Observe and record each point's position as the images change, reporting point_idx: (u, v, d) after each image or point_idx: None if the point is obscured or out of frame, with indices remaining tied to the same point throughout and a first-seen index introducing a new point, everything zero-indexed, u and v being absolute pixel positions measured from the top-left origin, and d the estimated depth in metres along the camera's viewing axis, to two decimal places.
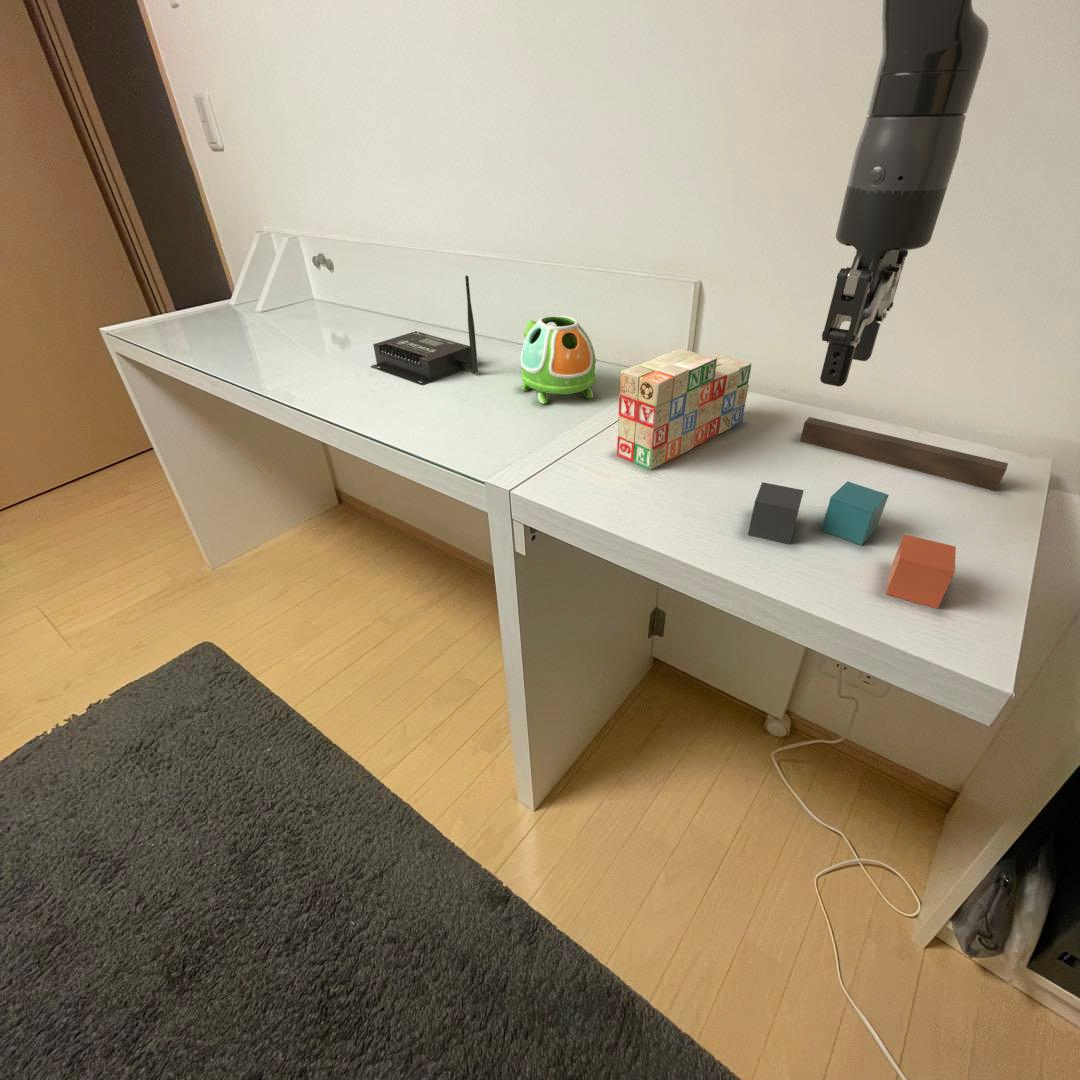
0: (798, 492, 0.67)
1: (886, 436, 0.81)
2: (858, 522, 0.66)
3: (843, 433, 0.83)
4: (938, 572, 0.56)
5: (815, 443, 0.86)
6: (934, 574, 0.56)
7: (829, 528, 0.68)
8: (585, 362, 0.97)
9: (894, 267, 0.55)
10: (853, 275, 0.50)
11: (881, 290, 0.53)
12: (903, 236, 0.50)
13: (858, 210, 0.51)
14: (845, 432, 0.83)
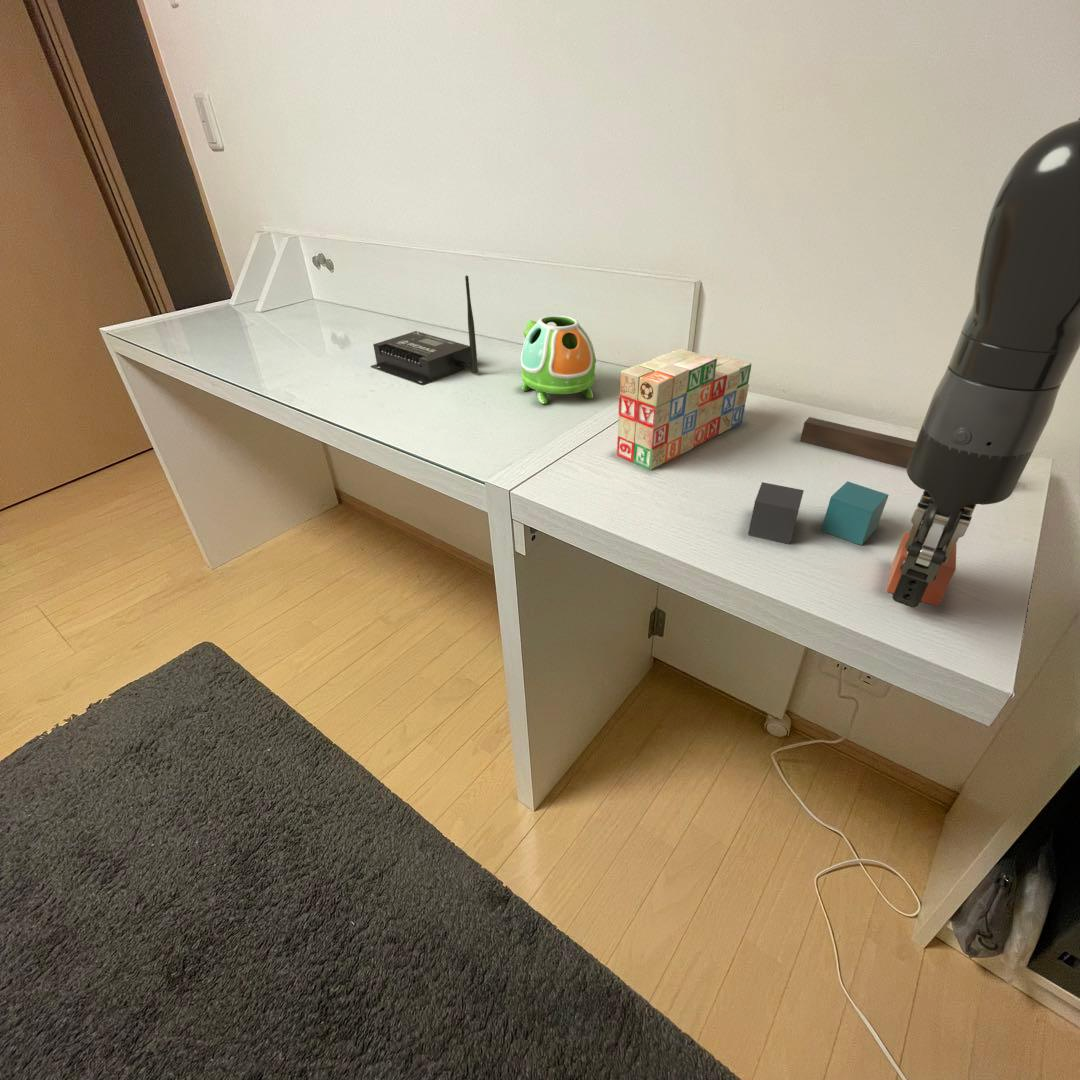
0: (798, 492, 0.67)
1: (886, 436, 0.81)
2: (858, 522, 0.66)
3: (843, 433, 0.83)
4: (939, 569, 0.56)
5: (815, 443, 0.86)
6: None
7: (829, 528, 0.68)
8: (585, 362, 0.97)
9: None
10: (924, 558, 0.48)
11: (957, 538, 0.50)
12: (987, 494, 0.46)
13: (937, 462, 0.47)
14: (845, 432, 0.83)
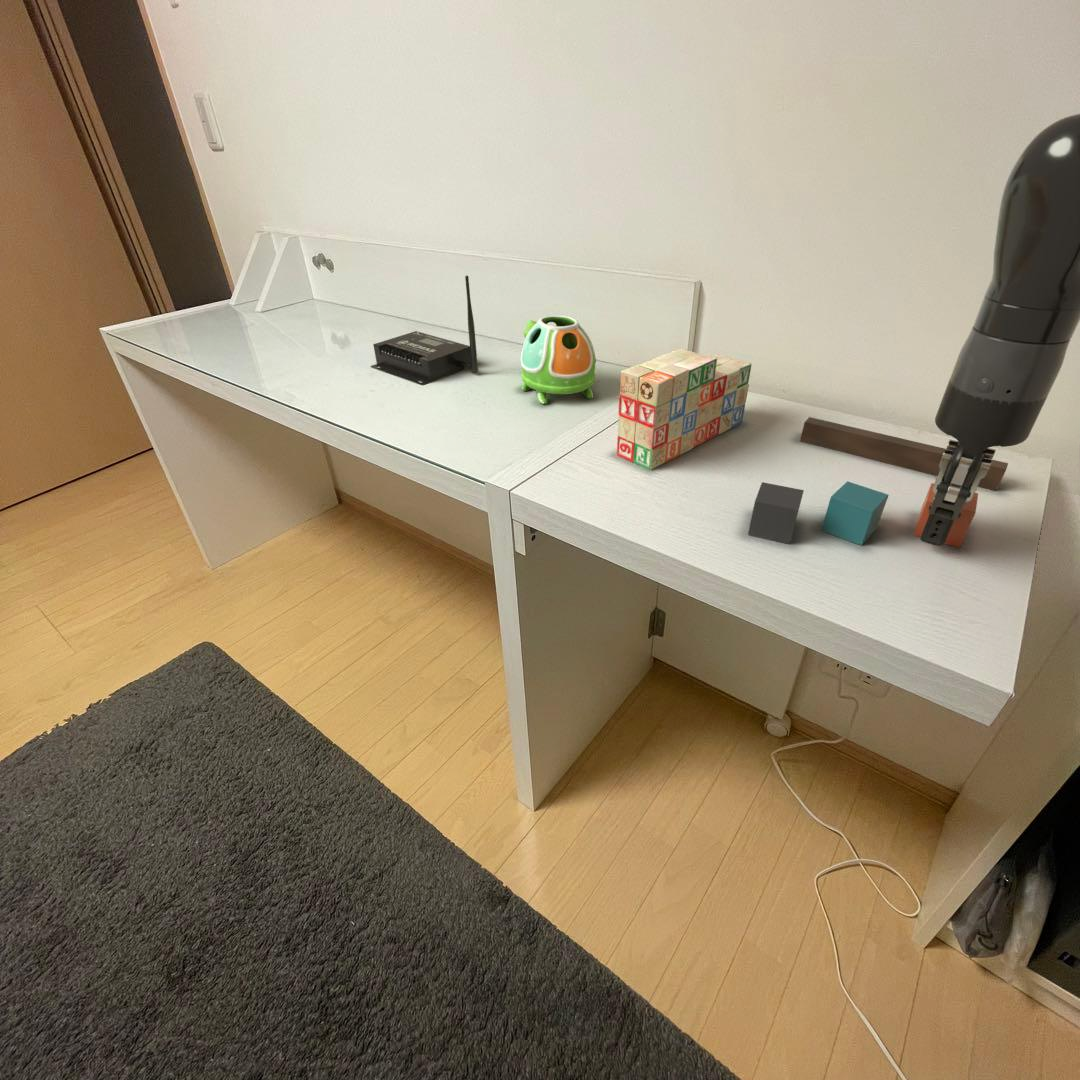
0: (798, 492, 0.67)
1: (886, 436, 0.81)
2: (858, 522, 0.66)
3: (843, 433, 0.83)
4: (961, 513, 0.64)
5: (815, 443, 0.86)
6: None
7: (829, 528, 0.68)
8: (585, 362, 0.97)
9: (989, 450, 0.58)
10: (951, 494, 0.56)
11: (979, 479, 0.58)
12: (1007, 437, 0.54)
13: (963, 410, 0.54)
14: (845, 432, 0.83)
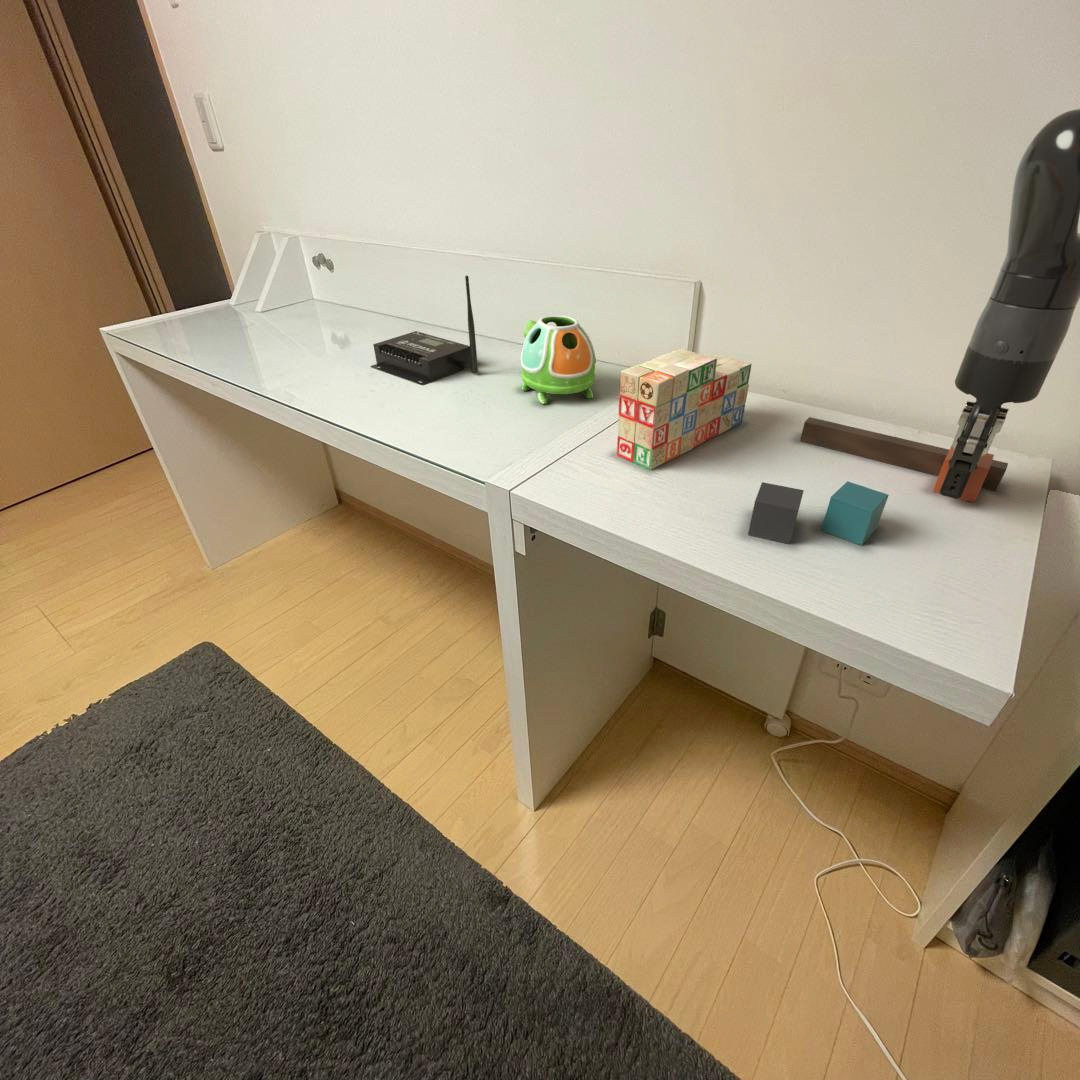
0: (798, 492, 0.67)
1: (886, 436, 0.81)
2: (858, 522, 0.66)
3: (843, 433, 0.83)
4: (976, 470, 0.71)
5: (815, 443, 0.86)
6: None
7: (829, 528, 0.68)
8: (585, 362, 0.97)
9: (1003, 409, 0.66)
10: (970, 445, 0.63)
11: (994, 434, 0.65)
12: (1019, 393, 0.61)
13: (981, 370, 0.62)
14: (845, 432, 0.83)
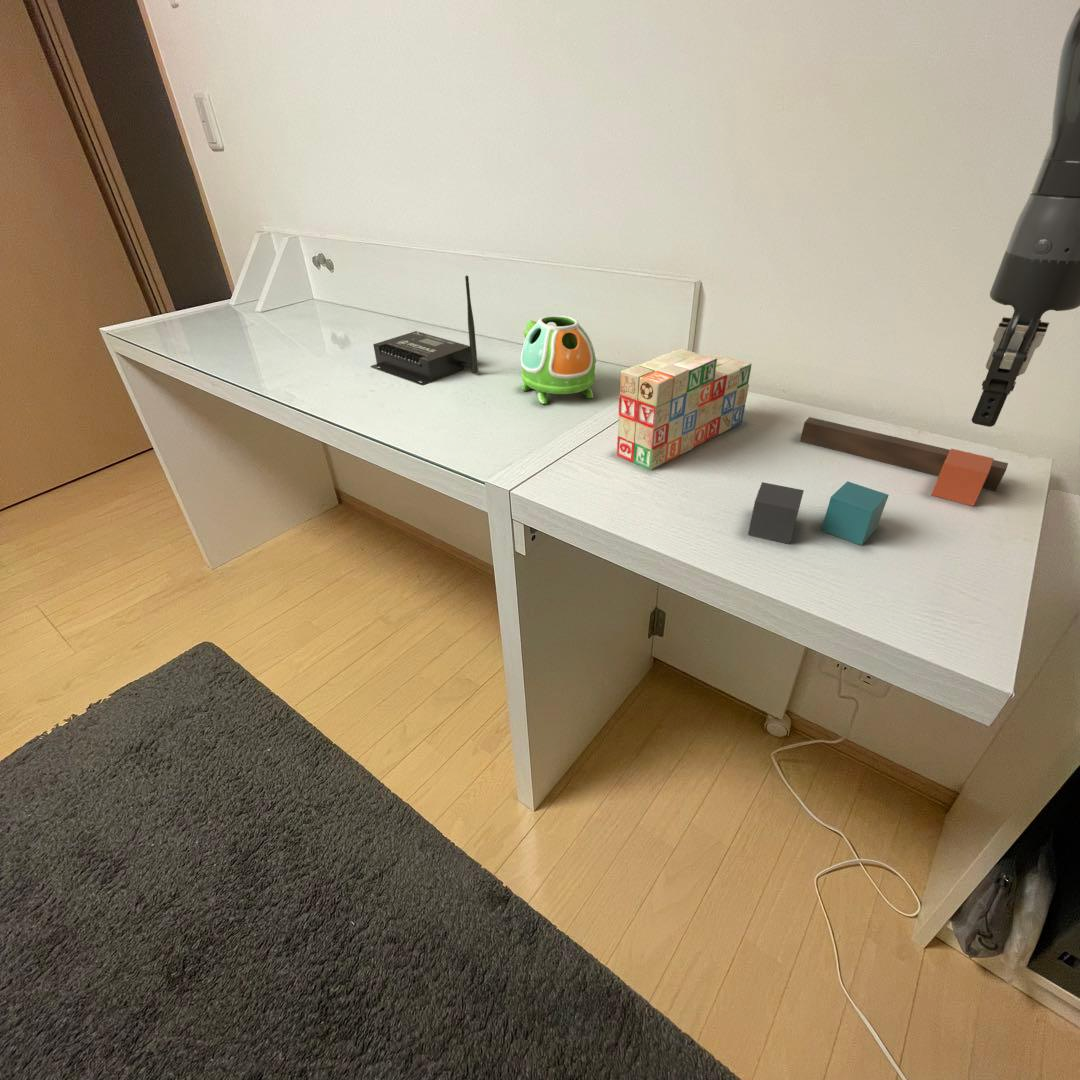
0: (798, 492, 0.67)
1: (886, 436, 0.81)
2: (858, 522, 0.66)
3: (843, 433, 0.83)
4: (975, 474, 0.70)
5: (815, 443, 0.86)
6: (971, 476, 0.71)
7: (829, 528, 0.68)
8: (585, 362, 0.97)
9: (1043, 323, 0.60)
10: (1007, 359, 0.58)
11: (1033, 350, 0.60)
12: (1063, 299, 0.56)
13: (1020, 275, 0.57)
14: (845, 432, 0.83)
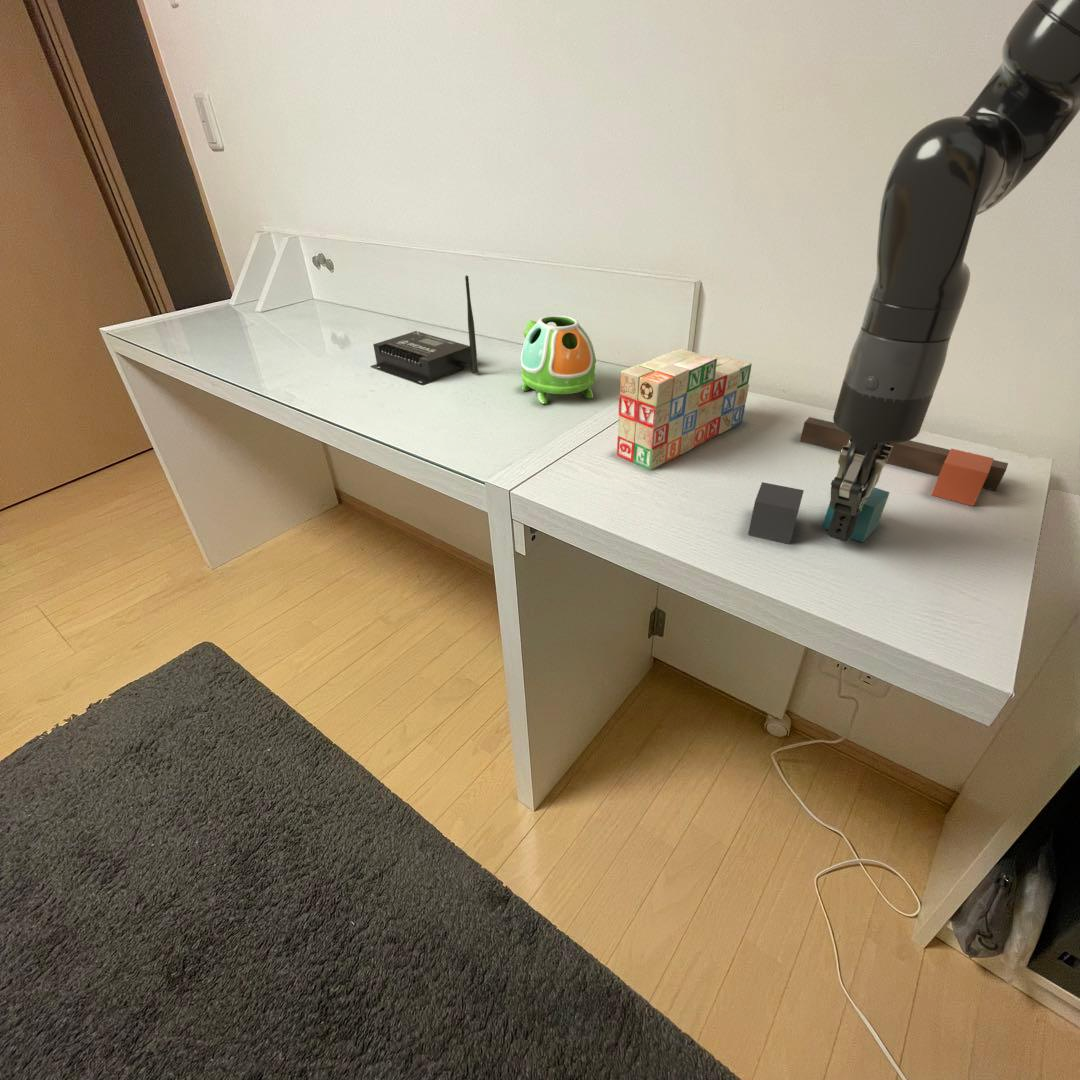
0: (798, 492, 0.67)
1: None
2: (859, 519, 0.66)
3: (843, 433, 0.83)
4: (975, 474, 0.70)
5: (815, 443, 0.86)
6: (971, 476, 0.71)
7: None
8: (585, 362, 0.97)
9: (886, 447, 0.60)
10: (844, 490, 0.57)
11: (875, 476, 0.59)
12: (894, 434, 0.55)
13: (854, 407, 0.56)
14: None
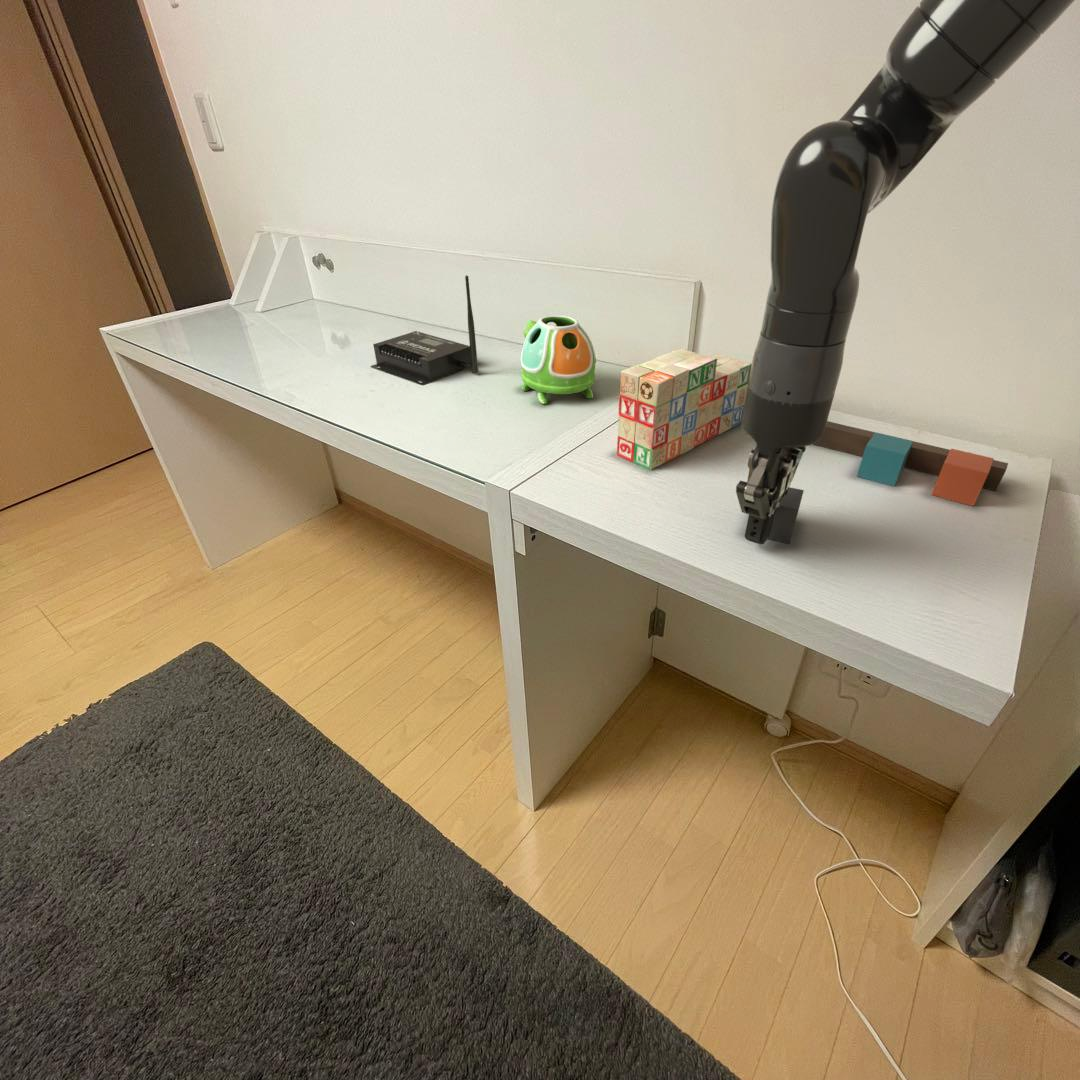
0: (798, 492, 0.67)
1: None
2: (891, 466, 0.75)
3: (843, 433, 0.83)
4: (975, 474, 0.70)
5: (815, 443, 0.86)
6: (971, 476, 0.71)
7: (864, 474, 0.78)
8: (585, 362, 0.97)
9: (795, 450, 0.59)
10: (748, 494, 0.57)
11: (782, 479, 0.59)
12: (795, 437, 0.55)
13: (755, 411, 0.55)
14: (845, 432, 0.83)
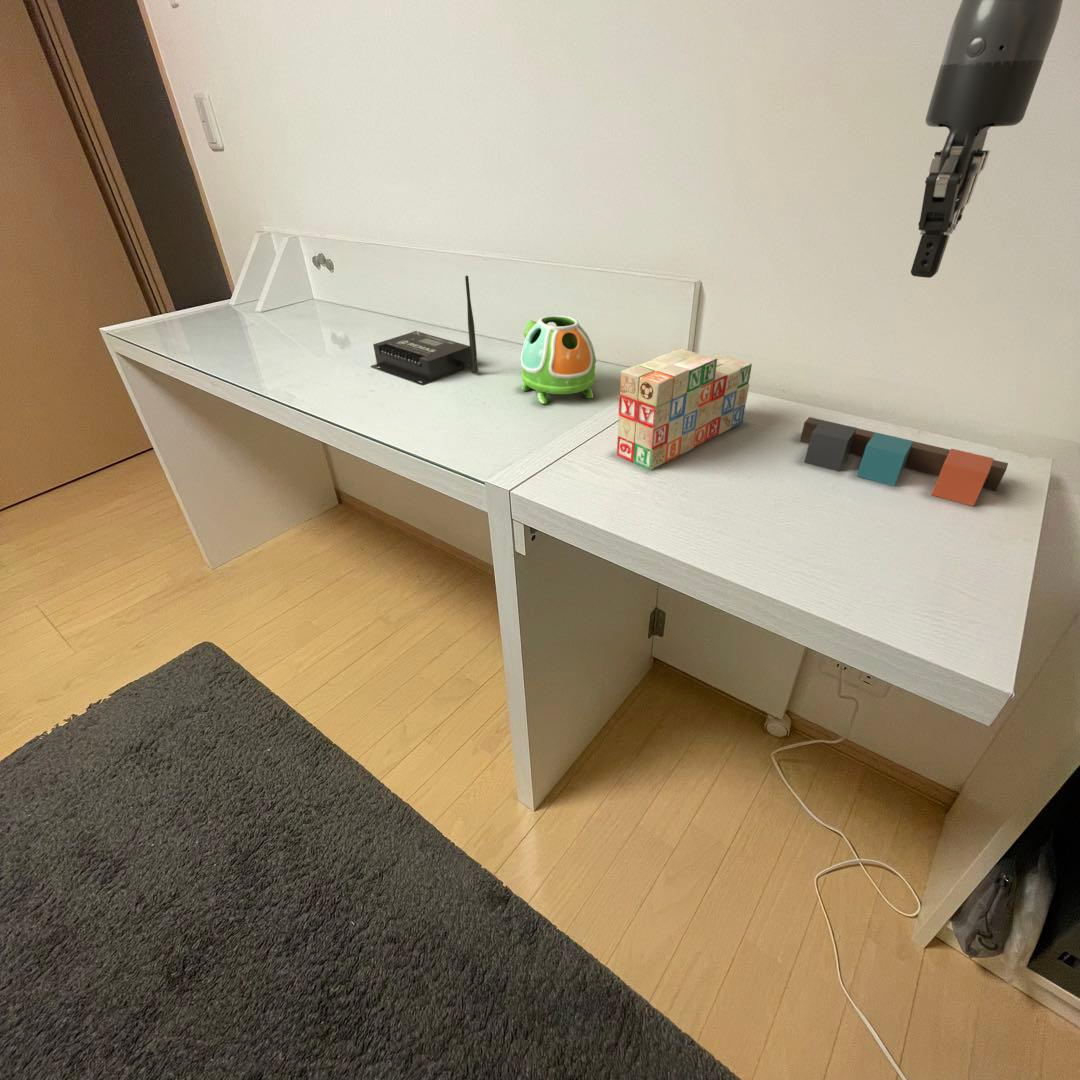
0: (852, 429, 0.80)
1: None
2: (891, 466, 0.75)
3: None
4: (975, 474, 0.70)
5: None
6: (971, 476, 0.71)
7: (864, 474, 0.78)
8: (585, 362, 0.97)
9: (983, 151, 0.56)
10: (941, 183, 0.53)
11: (971, 178, 0.55)
12: (1000, 109, 0.51)
13: (954, 86, 0.52)
14: None
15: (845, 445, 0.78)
